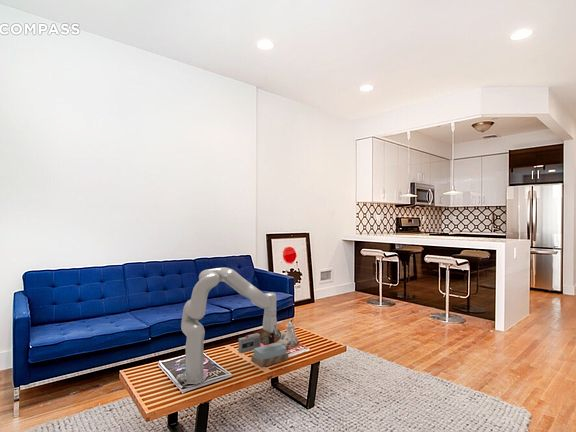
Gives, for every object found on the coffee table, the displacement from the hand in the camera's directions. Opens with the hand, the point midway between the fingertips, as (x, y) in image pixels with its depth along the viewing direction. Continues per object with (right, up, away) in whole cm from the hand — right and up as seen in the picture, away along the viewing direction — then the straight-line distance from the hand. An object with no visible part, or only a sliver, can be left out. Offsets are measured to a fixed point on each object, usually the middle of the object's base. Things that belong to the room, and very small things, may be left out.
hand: (270, 341), depth 214 cm
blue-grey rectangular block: (0, -8, 0) cm, 8 cm away
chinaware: (+10, -12, +27) cm, 31 cm away
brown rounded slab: (0, -1, 0) cm, 1 cm away
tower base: (0, -12, 0) cm, 12 cm away
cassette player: (-15, -12, +16) cm, 25 cm away
